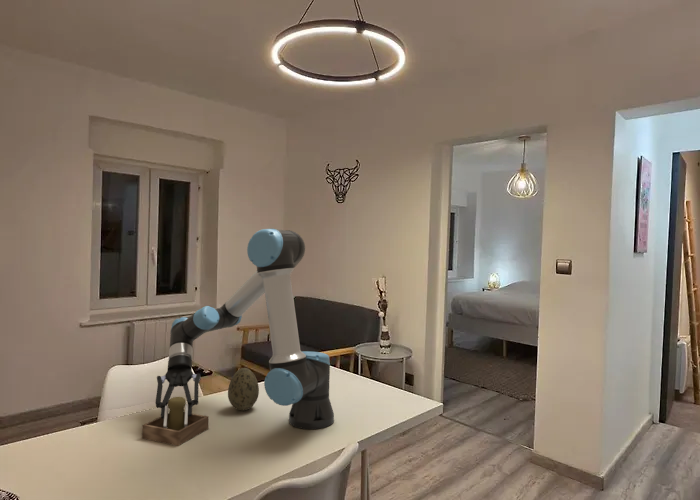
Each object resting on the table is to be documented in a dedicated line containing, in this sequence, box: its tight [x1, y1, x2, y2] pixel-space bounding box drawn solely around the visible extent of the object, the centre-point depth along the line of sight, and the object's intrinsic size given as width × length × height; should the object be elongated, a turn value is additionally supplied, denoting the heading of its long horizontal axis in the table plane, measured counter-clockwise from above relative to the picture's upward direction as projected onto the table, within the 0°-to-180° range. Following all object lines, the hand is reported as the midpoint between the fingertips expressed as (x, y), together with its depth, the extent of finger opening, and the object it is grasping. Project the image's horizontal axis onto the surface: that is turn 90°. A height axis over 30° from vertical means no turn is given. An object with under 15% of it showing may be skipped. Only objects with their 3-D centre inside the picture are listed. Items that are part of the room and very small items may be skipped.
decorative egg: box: [227, 367, 260, 411], centre depth 164 cm, size 11×11×15 cm
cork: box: [167, 396, 187, 431], centre depth 142 cm, size 6×6×11 cm
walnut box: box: [141, 411, 209, 447], centre depth 142 cm, size 14×14×4 cm
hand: (175, 427), depth 138 cm, fingers closed on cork, 5 cm apart
